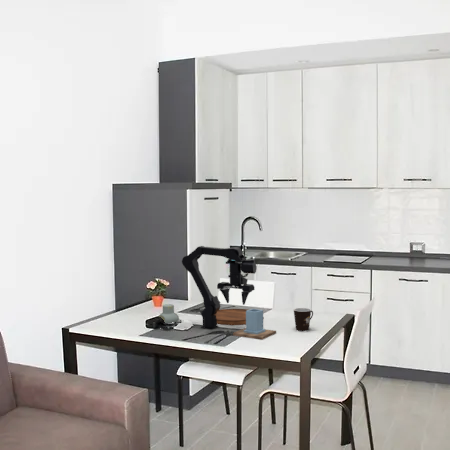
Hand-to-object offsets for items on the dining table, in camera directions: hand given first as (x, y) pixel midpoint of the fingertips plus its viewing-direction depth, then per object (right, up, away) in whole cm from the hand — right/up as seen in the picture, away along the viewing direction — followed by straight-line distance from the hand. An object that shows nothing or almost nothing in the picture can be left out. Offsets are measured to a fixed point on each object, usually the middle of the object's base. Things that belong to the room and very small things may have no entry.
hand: (235, 303), depth 306 cm
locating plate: (+9, -14, -9) cm, 19 cm away
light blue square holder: (+9, -12, -9) cm, 18 cm away
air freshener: (-35, -13, +15) cm, 40 cm away
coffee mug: (+35, -13, -1) cm, 37 cm away
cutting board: (0, -12, +26) cm, 29 cm away
